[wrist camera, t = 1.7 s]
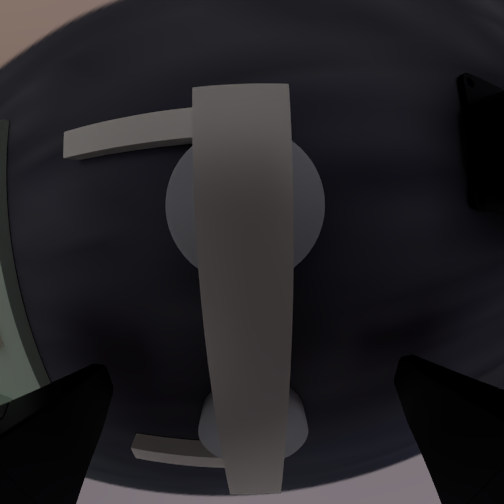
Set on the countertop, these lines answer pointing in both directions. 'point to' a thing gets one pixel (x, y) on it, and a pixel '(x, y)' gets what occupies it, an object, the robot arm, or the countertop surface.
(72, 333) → the countertop surface
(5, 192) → the stand
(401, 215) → the countertop surface
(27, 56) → the countertop surface
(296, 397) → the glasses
